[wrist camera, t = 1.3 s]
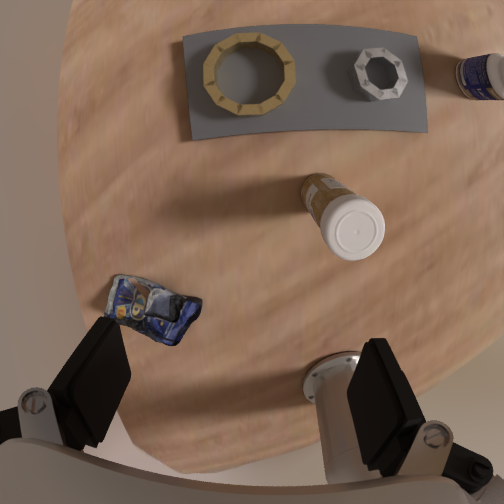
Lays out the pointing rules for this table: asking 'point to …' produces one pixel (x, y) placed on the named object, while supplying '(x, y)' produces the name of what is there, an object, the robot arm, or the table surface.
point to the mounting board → (304, 82)
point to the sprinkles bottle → (343, 217)
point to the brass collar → (248, 42)
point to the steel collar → (386, 61)
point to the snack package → (152, 310)
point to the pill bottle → (482, 77)
